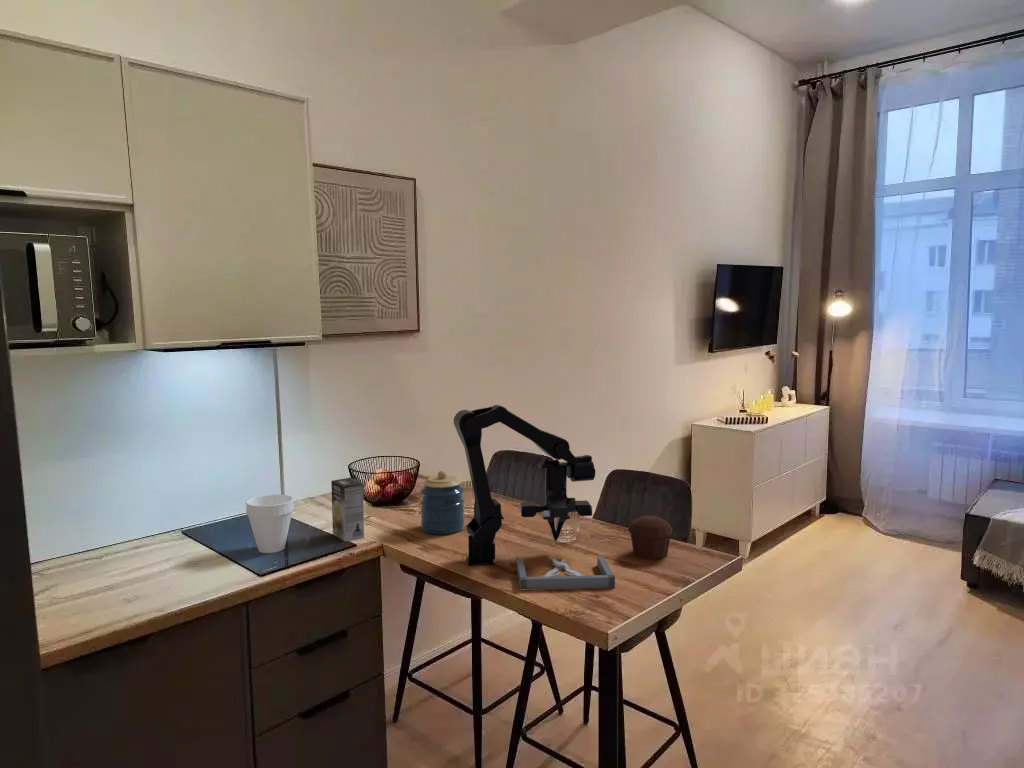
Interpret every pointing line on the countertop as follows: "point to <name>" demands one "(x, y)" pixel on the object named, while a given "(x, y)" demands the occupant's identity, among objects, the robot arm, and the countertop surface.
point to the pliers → (559, 566)
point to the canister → (442, 505)
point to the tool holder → (568, 579)
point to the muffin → (650, 537)
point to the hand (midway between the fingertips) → (555, 540)
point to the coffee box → (347, 509)
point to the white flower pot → (270, 521)
